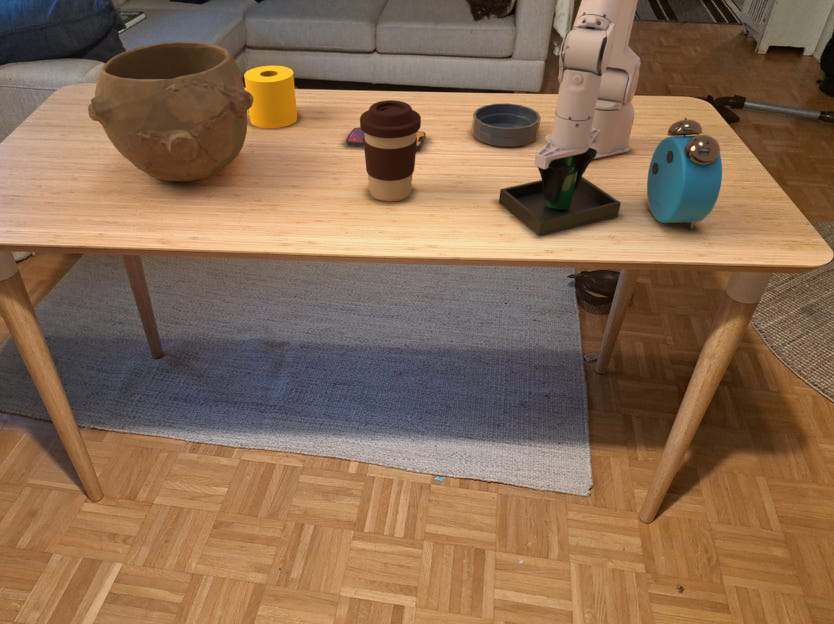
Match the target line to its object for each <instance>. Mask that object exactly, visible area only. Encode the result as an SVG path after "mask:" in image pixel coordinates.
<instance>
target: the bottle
mask: <svg viewBox="0 0 834 624" xmlns="http://www.w3.org/2000/svg"><path fill="white" fill-rule="evenodd" d="M573 156H574V155H573ZM573 156H568V157H563V158H562V161H564V163H563V164H566V165H569V166H571V167H572V169H571V170H570V171H569V173H568V175H567V176H566V178H565V180H564V183H563V186H562V189H561V193H560V196H559V198H558V201H557V202H556V203H551V202H549V201H547V200H544V203H545V205H546V206H548V207H550V208H552V209H559V210H561V209H567V208H569V207H570V206H571V203H572V198H573V193H574V188H575V183H576V178H577V173H578V170H577V168H576V167H575V165H574V163H572V161H573Z"/></svg>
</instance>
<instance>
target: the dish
mask: <svg viewBox="0 0 834 624" xmlns="http://www.w3.org/2000/svg"><path fill="white" fill-rule="evenodd" d="M541 119H542V117H541V115H540V113H539V112H538V111H537V110H535V109H533V108H531V107H528V106H525V105H522V104H516V103H510V102H509V103H506V102H505V103H492V104H486V105H483V106H481V107H478V108H476V109H475V111H473V113H472V121H471V134H472V136H473V137H474V138H475V139H476V140H478V141H479V142H482V143H484V144H487V145H491V146H495V147H504V148H509V147H510V148H511V147H512V148H513V147H520V146H523V145H524V146H525V145H528V144H530V143H533V142H534V141H536V140H537V138H538V136H539V132H540V125H541Z"/></svg>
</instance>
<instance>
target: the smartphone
mask: <svg viewBox="0 0 834 624" xmlns="http://www.w3.org/2000/svg"><path fill="white" fill-rule="evenodd" d="M426 135H427V134H426V132H425V131H422V130H421V131H420V130H418V131H417V133H416V137H417V146H416V151H419V150H421V148H422V147H423V144H424V142H425V140H426V138H427V136H426ZM364 137H365V136H364V132H363V131H362V130H361V128H360V126H359V127H354V128H353V129H351V132H350V133H349V135H348V136H347V138H346V139H345V144H346V145H347V146H350V147H360V148H361V147H362V148H364Z"/></svg>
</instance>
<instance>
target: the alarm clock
mask: <svg viewBox="0 0 834 624" xmlns="http://www.w3.org/2000/svg"><path fill="white" fill-rule="evenodd" d="M722 180H723V161H722V156H721V145H720V143H719V141H718V140H717V139H716V138H714V137H713V136H711V135H708V134H703V126H702V125H701V124H700V123H699V122H698V121H697V120H694V119H688V118H687V117H684V118H683V119H679V120H678V121H675V122H674V123H672V124H671V125H670V126H669V128H668V130H667V137H664V138H663V139H662V140H661V141H660V142H659V143H658V145H657V146H656V147H655V150H654V151H653V153H652V156H651V159H650V163H649V166H648V171H647V181H646V182H647V183H646V191H647V192H646V193H647V195H646V196H647V201H648V206H649V210H650V213H651V215H652V216H653V218H654V219H655V220H656V221H657V222H659V223H662V224H671V223H672V224H673V223H689V228H690V229H693V227H694V224H695V223H696V222H697V223H698V222H701V221H703V220H705V219H706V218H707V217H708V216H709V215H710V214H711V212H713V209H714V207H715V205H716V203H717V200H718V198H719V196H720V191H721V187H722Z"/></svg>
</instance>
